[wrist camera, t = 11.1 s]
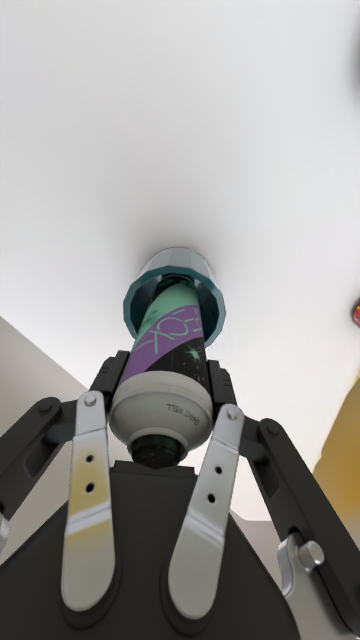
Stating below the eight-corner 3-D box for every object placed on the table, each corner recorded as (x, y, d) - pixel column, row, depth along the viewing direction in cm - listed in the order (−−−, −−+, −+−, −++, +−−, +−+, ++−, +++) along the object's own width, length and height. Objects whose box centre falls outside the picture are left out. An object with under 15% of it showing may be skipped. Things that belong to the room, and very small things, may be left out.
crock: (141, 312, 32) (124, 351, 23) (142, 242, 27) (121, 259, 18) (206, 319, 32) (214, 360, 23) (220, 251, 27) (236, 273, 18)
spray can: (196, 315, 27) (214, 514, 9) (155, 313, 27) (98, 509, 10) (199, 274, 24) (231, 448, 7) (153, 273, 24) (69, 442, 7)
